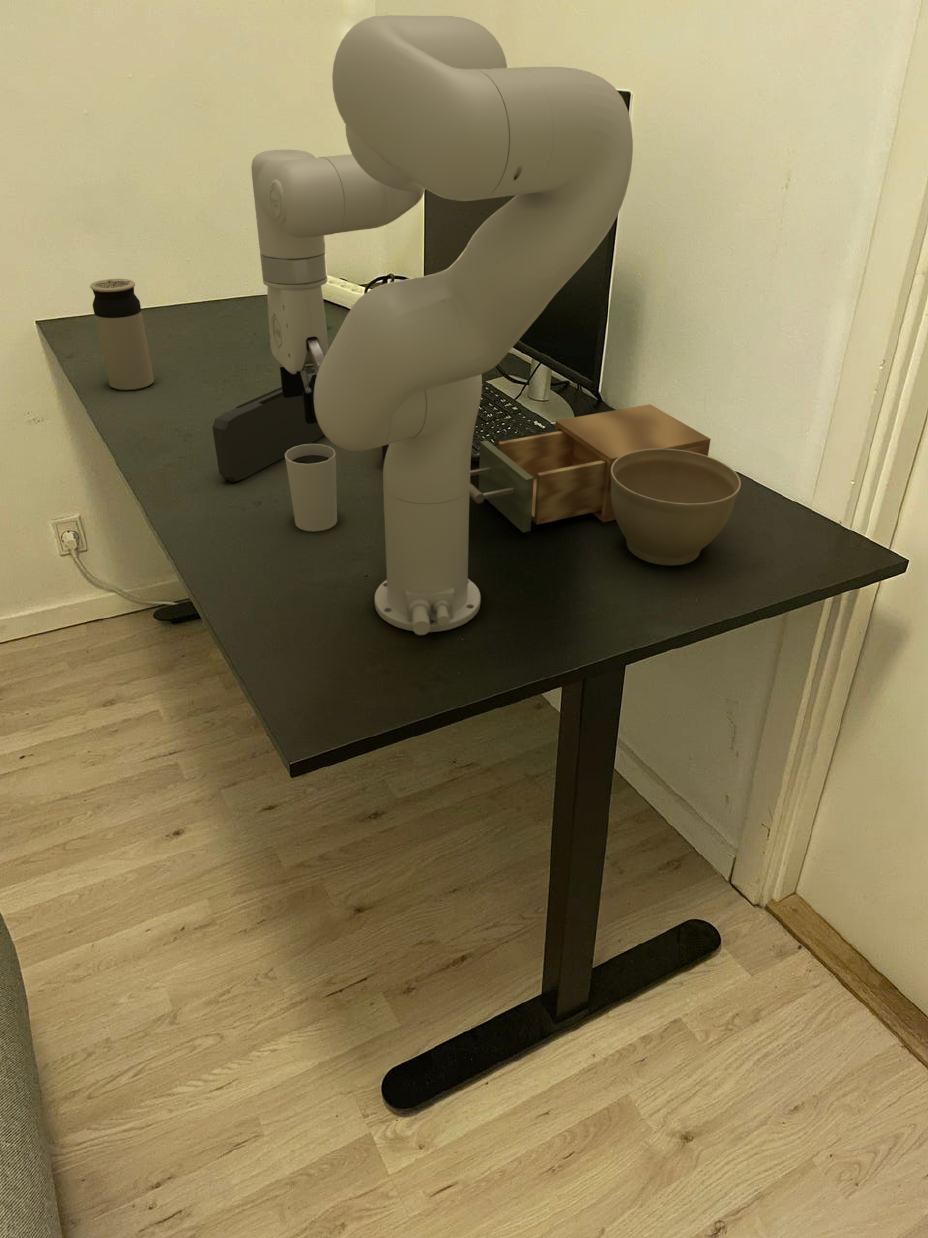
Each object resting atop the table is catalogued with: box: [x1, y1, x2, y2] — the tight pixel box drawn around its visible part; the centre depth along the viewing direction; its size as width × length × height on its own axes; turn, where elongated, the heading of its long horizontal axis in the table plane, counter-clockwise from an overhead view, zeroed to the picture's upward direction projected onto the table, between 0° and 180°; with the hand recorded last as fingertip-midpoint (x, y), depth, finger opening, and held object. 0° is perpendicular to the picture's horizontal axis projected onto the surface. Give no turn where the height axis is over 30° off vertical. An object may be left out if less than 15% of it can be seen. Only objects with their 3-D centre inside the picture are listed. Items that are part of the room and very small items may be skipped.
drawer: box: [469, 431, 607, 533], centre depth 126 cm, size 21×13×8 cm, turn 116°
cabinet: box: [554, 403, 712, 523], centre depth 132 cm, size 17×15×10 cm
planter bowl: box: [611, 449, 742, 566], centre depth 117 cm, size 16×16×11 cm
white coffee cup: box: [284, 443, 338, 532], centre depth 123 cm, size 7×7×10 cm
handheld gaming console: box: [211, 376, 325, 483], centre depth 140 cm, size 23×3×10 cm, turn 149°
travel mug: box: [89, 278, 155, 391], centre depth 164 cm, size 8×8×18 cm
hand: (306, 408), depth 117 cm, fingers open, 9 cm apart
